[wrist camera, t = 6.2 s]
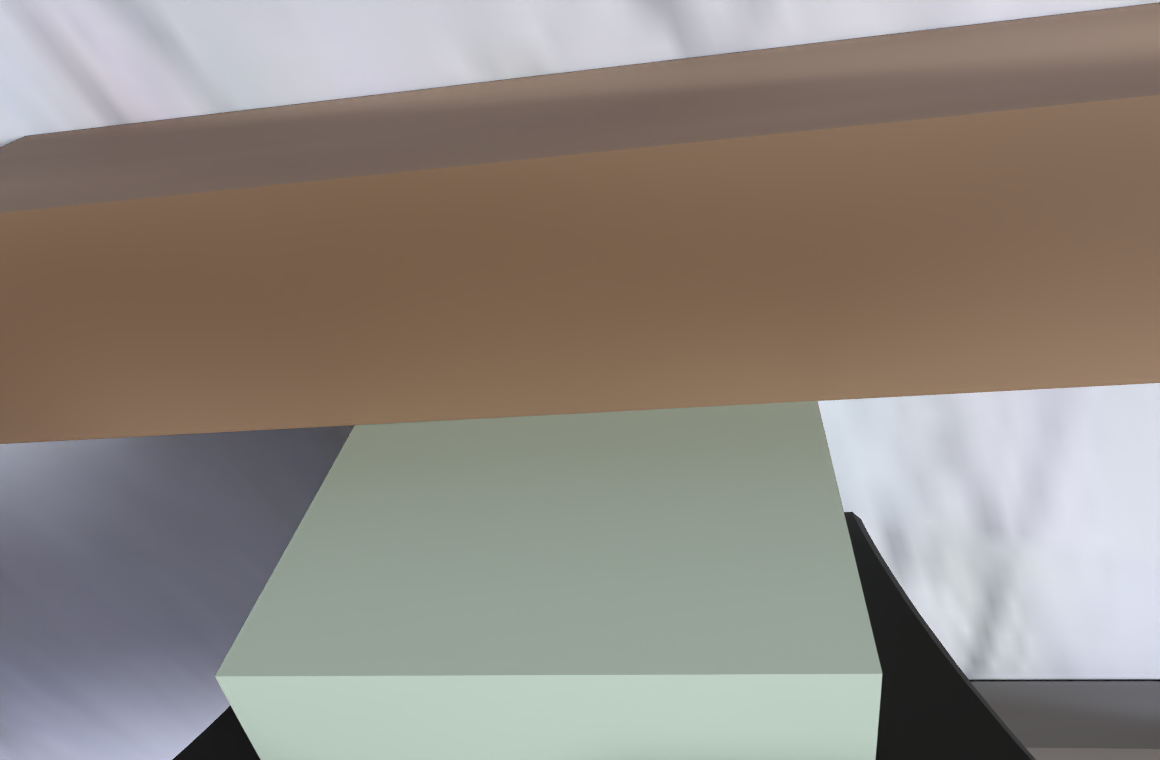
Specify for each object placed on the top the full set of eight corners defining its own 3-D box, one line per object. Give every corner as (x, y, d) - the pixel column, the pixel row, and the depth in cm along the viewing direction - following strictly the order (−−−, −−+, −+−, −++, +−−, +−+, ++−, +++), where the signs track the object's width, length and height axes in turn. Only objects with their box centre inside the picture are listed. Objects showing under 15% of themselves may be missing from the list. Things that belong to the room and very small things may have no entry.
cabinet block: (787, 671, 14) (845, 1129, 9) (526, 672, 15) (447, 1098, 10) (784, 263, 10) (882, 674, 5) (428, 291, 11) (215, 676, 6)
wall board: (1363, 713, 13) (1520, 916, 11) (301, 710, 16) (232, 870, 14) (1804, -73, 8) (2363, -29, 5) (25, 136, 10) (-184, 231, 8)
